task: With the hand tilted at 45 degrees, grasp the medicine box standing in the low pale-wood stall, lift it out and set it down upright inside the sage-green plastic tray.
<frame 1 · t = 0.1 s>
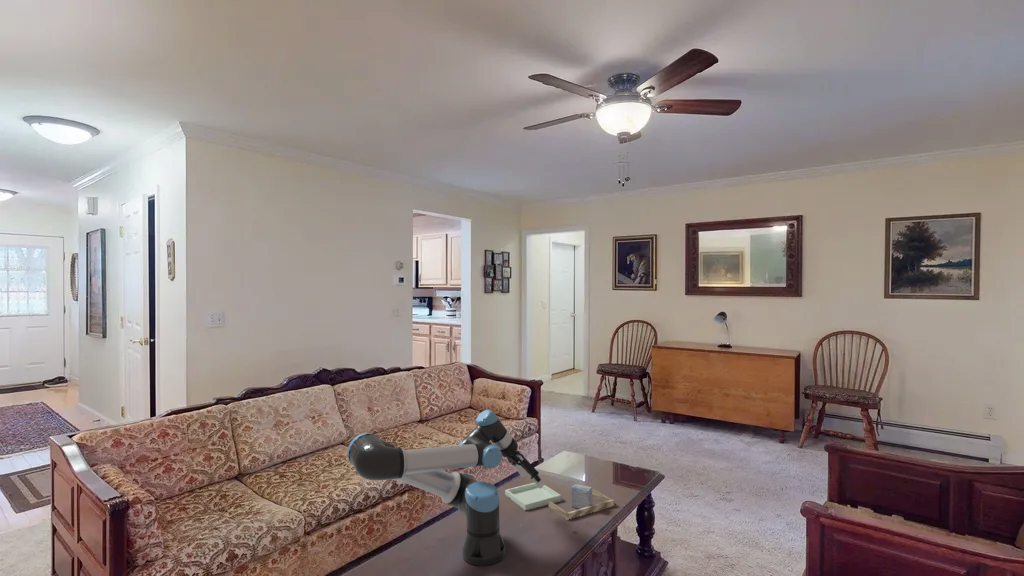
hand: (533, 480, 200), 15 cm above the table, tool tilted 35°, fingers open, 13 cm apart
medicine box: (582, 508, 209), on the table
sage-green tray: (532, 498, 219), on the table
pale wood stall: (582, 507, 209), on the table
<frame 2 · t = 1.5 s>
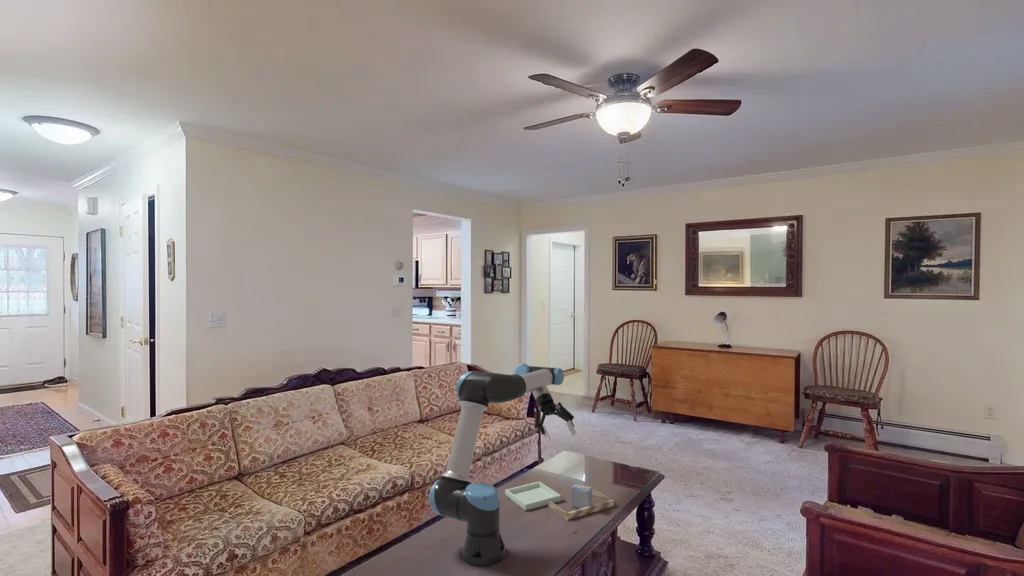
hand: (561, 437, 220), 26 cm above the table, tool tilted 45°, fingers open, 13 cm apart
nothing on the table moved.
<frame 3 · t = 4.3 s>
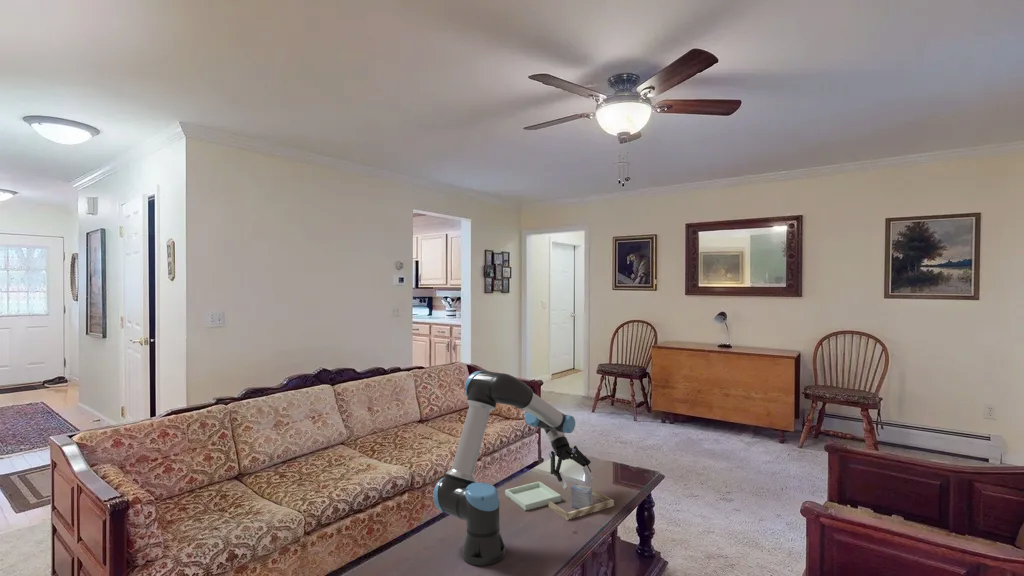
hand: (579, 484, 212), 8 cm above the table, tool tilted 45°, fingers open, 13 cm apart
nothing on the table moved.
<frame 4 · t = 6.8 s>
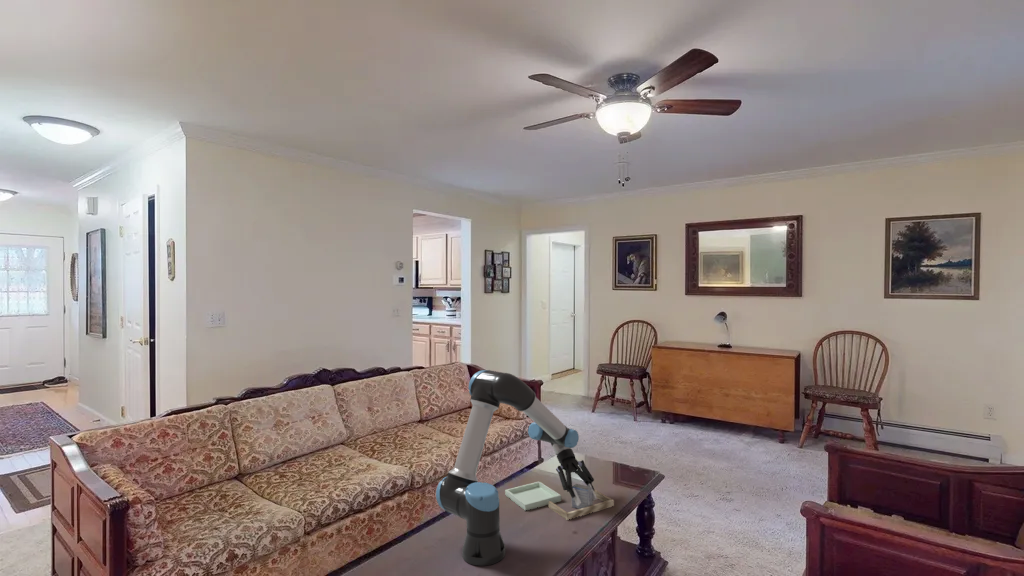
hand: (587, 502, 206), 4 cm above the table, tool tilted 45°, fingers closed on medicine box, 7 cm apart
medicine box: (582, 507, 209), on the table, touching gripper
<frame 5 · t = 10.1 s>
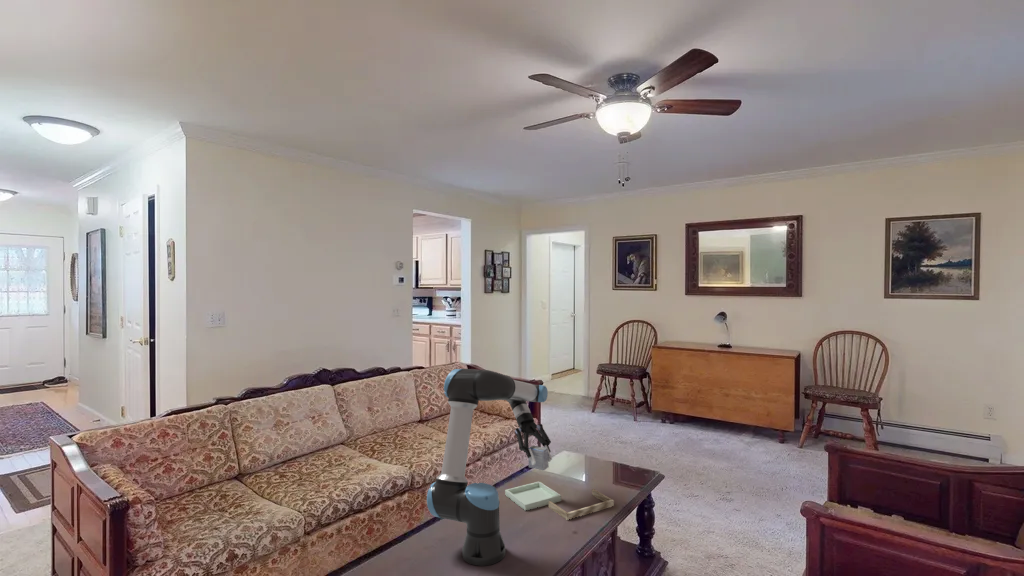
hand: (542, 461, 215), 17 cm above the table, tool tilted 45°, fingers closed on medicine box, 7 cm apart
medicine box: (538, 468, 218), point 14 cm above the table, touching gripper
when the fingers open (6 cm above the table, at t = 13.4 s): medicine box drops 2 cm, resting on sage-green tray.
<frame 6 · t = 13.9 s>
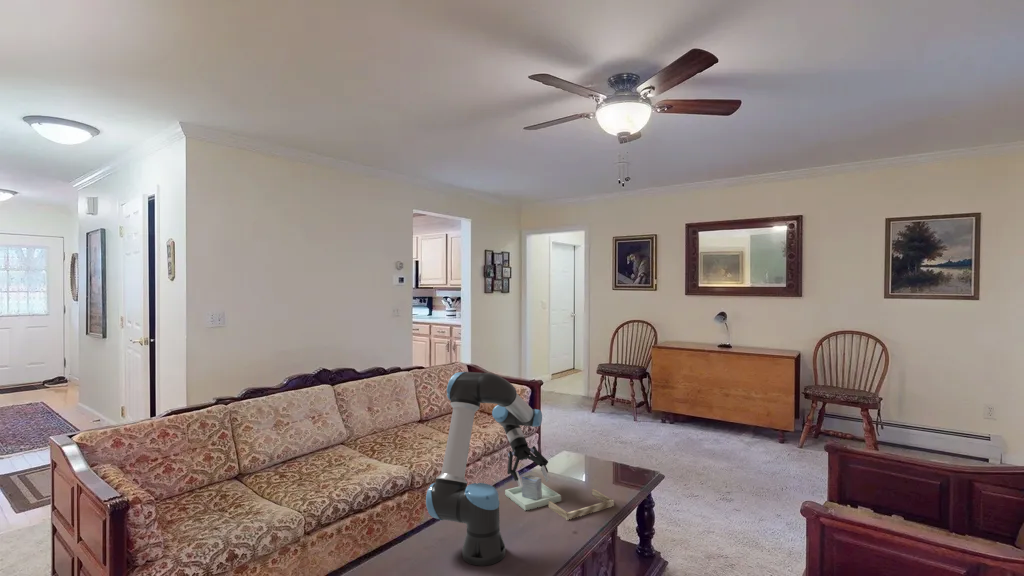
hand: (534, 483, 217), 7 cm above the table, tool tilted 45°, fingers open, 13 cm apart
medicine box: (532, 497, 219), resting on sage-green tray
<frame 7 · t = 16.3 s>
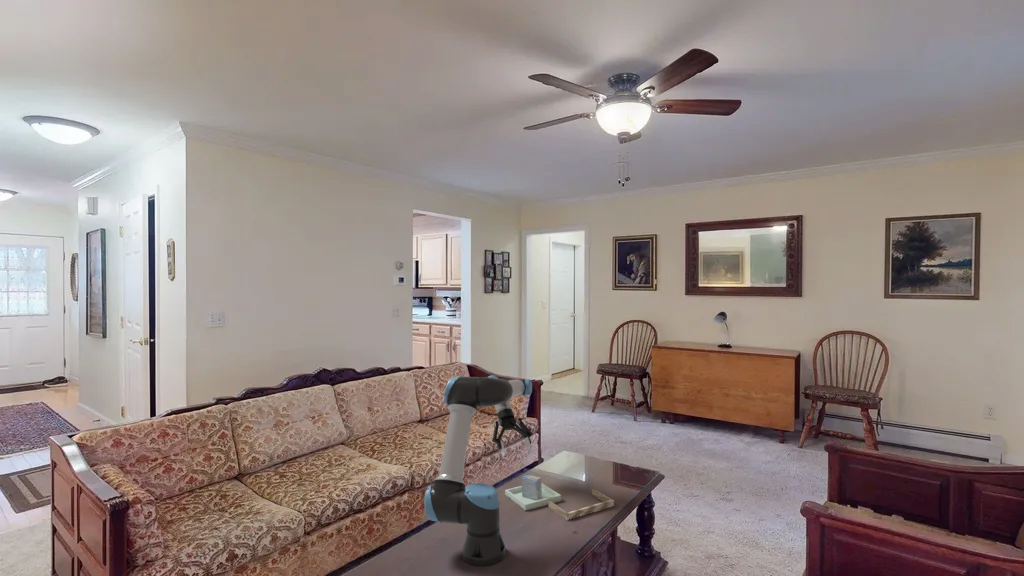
hand: (517, 453, 228), 17 cm above the table, tool tilted 40°, fingers open, 13 cm apart
nothing on the table moved.
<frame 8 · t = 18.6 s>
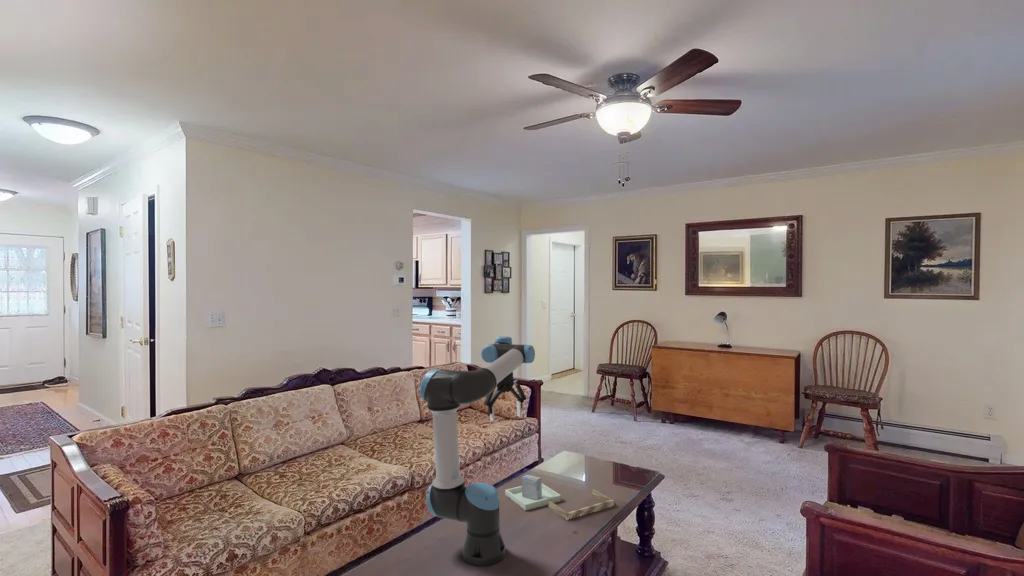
hand: (505, 418, 222), 35 cm above the table, tool pointing down, fingers open, 13 cm apart
nothing on the table moved.
at the end: medicine box inside the target area on the sage-green tray (0.4 cm from its centre), point 0.4 cm above the sage-green tray's base; medicine box tilted 0°; the gripper is holding nothing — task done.
